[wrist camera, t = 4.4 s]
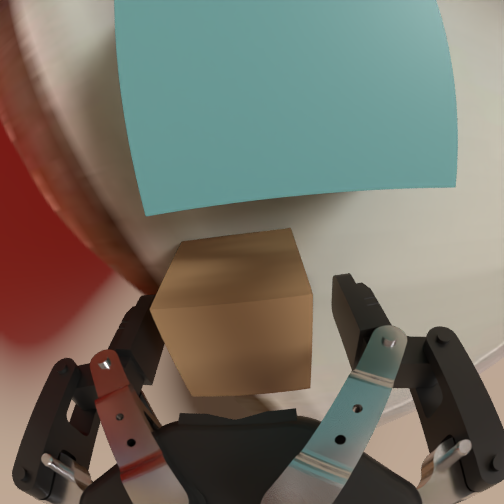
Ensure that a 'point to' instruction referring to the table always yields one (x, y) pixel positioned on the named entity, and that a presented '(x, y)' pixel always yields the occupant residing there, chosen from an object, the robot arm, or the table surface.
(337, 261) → the table surface
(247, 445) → the robot arm
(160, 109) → the teal base block
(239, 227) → the table surface
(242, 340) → the walnut cube
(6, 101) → the table surface
